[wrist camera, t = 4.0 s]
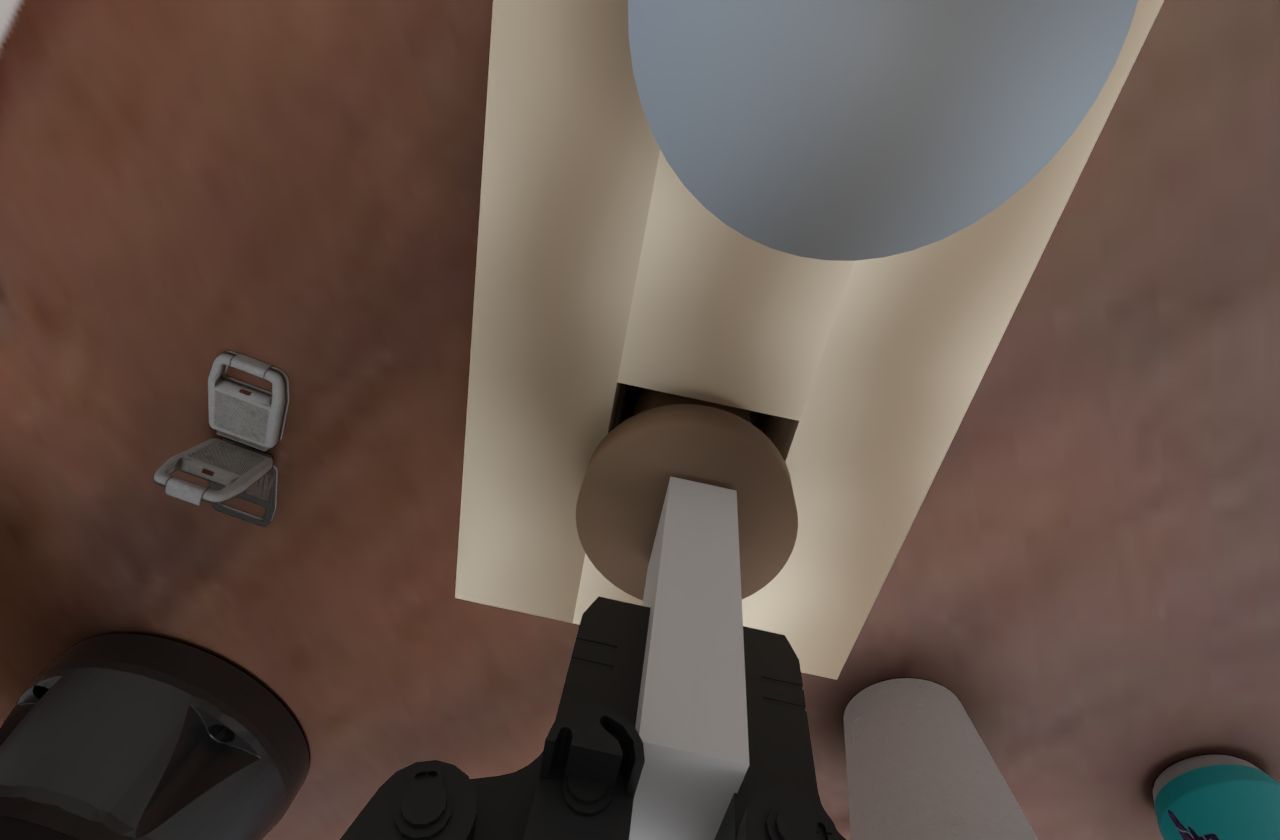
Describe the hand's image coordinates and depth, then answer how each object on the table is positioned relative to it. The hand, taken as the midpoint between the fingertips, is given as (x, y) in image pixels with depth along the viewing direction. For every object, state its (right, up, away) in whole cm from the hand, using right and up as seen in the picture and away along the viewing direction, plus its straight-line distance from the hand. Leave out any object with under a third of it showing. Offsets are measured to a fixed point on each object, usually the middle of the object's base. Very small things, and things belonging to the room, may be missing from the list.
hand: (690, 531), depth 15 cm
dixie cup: (+12, -12, +17) cm, 24 cm away
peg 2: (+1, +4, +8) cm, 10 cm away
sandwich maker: (-18, +2, +13) cm, 23 cm away
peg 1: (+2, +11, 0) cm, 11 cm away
